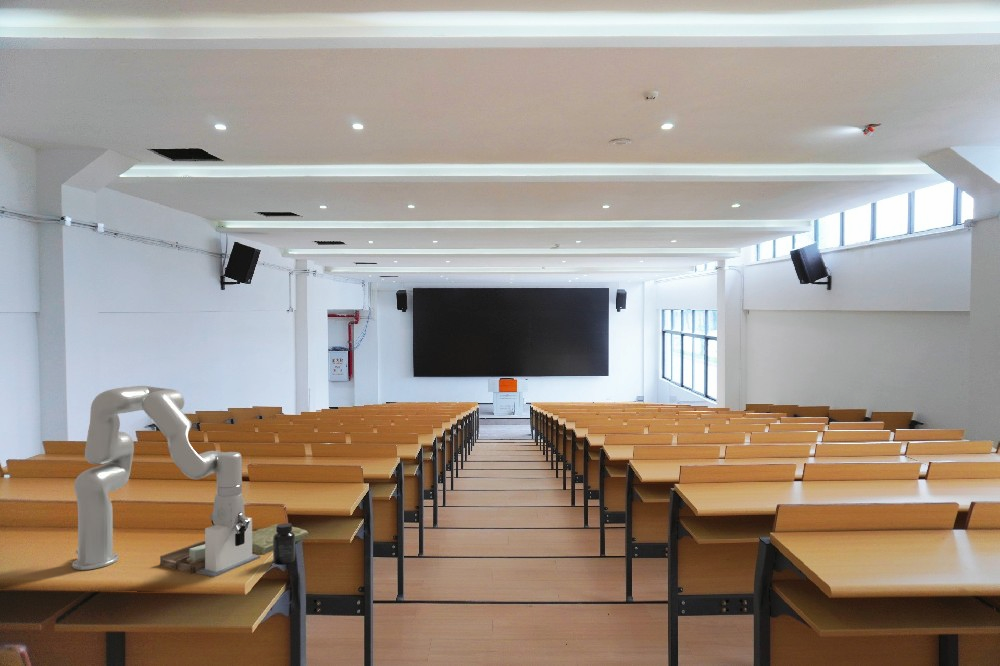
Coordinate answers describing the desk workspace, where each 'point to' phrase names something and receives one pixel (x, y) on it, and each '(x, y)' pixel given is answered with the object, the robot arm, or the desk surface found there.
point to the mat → (213, 574)
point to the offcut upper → (197, 552)
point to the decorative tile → (271, 538)
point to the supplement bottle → (284, 544)
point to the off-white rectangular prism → (225, 547)
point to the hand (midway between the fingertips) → (229, 542)
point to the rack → (182, 560)
